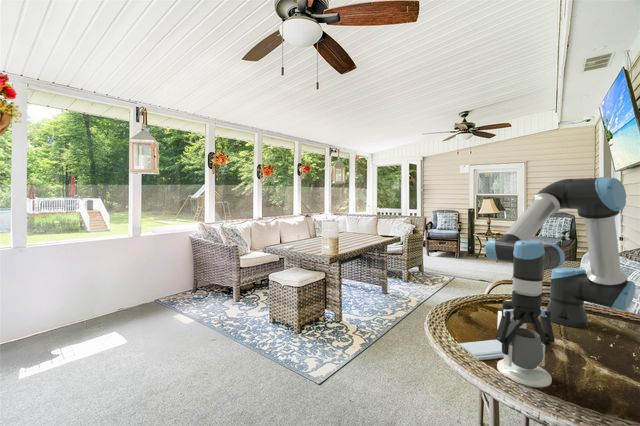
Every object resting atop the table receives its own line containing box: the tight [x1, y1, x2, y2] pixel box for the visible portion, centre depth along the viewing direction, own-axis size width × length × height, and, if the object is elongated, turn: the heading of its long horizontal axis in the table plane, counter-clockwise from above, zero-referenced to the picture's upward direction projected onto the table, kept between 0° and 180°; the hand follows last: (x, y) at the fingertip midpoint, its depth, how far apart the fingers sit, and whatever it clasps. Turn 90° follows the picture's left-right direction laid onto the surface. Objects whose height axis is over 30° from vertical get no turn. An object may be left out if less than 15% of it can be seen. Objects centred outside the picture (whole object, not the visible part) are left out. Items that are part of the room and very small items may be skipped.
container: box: [496, 299, 528, 330], centre depth 122 cm, size 8×8×13 cm
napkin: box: [458, 339, 504, 361], centre depth 109 cm, size 16×10×1 cm, turn 102°
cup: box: [510, 328, 543, 369], centre depth 95 cm, size 10×9×10 cm
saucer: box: [496, 358, 553, 388], centre depth 95 cm, size 14×14×1 cm
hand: (523, 364), depth 95 cm, fingers closed on cup, 9 cm apart
